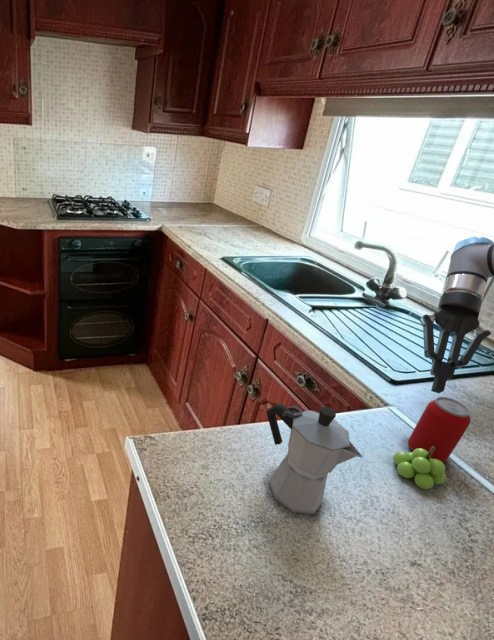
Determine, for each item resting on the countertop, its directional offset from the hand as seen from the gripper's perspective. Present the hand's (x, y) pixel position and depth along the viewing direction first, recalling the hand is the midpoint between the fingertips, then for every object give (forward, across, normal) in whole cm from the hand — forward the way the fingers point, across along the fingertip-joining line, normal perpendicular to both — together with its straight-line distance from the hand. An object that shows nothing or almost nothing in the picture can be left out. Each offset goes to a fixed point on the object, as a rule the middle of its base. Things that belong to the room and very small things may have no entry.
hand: (437, 390), depth 88 cm
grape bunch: (+21, +2, +10) cm, 23 cm away
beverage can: (+15, 0, +4) cm, 15 cm away
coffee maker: (+34, +23, +23) cm, 46 cm away
